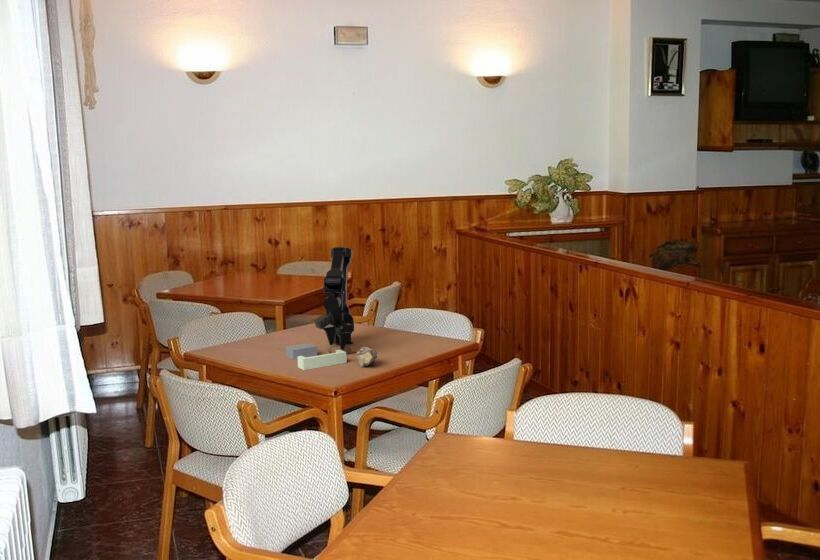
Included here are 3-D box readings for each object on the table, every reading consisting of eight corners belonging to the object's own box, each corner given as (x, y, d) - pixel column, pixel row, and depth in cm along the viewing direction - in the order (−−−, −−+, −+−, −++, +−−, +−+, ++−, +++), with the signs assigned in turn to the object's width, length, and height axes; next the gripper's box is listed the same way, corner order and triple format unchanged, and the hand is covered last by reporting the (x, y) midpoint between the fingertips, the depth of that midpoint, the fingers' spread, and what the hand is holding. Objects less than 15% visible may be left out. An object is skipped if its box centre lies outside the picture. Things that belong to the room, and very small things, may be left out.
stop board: (340, 360, 310) (339, 349, 309) (346, 362, 305) (346, 352, 305) (297, 367, 300) (297, 356, 300) (303, 370, 296) (303, 359, 296)
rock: (368, 353, 294) (384, 344, 302) (343, 350, 300) (359, 340, 308) (371, 372, 296) (386, 362, 303) (345, 368, 302) (361, 358, 310)
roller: (347, 343, 322) (351, 346, 319) (346, 351, 323) (351, 354, 320) (328, 346, 317) (333, 349, 314) (328, 354, 318) (332, 357, 315)
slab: (309, 353, 323) (309, 343, 323) (317, 356, 317) (317, 346, 317) (285, 357, 318) (285, 346, 317) (293, 360, 312) (292, 350, 311)
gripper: (305, 306, 322) (307, 345, 324) (327, 313, 306) (329, 354, 309) (331, 303, 328) (332, 341, 330) (354, 309, 312) (355, 350, 315)
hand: (336, 347), depth 321 cm, fingers open, 9 cm apart
